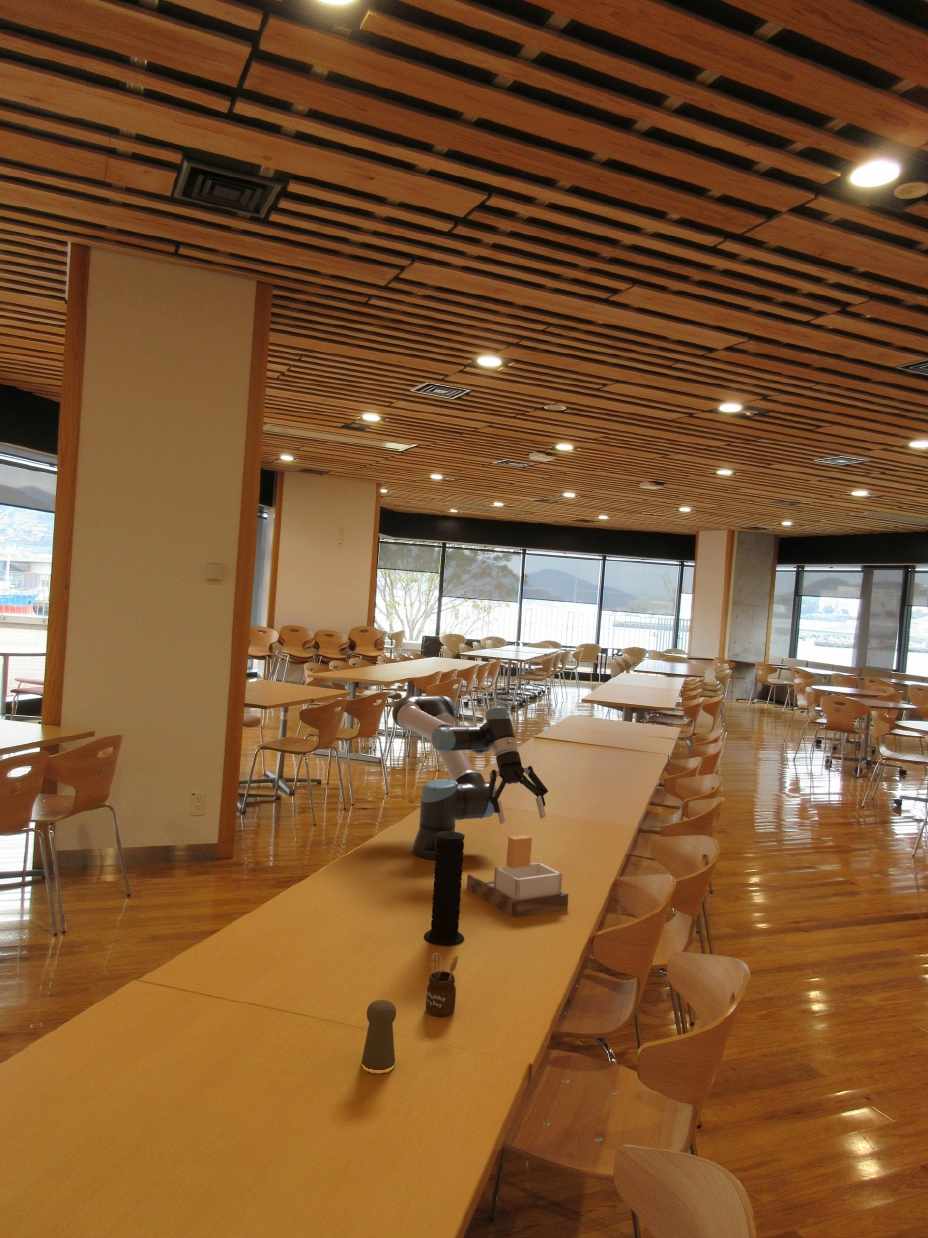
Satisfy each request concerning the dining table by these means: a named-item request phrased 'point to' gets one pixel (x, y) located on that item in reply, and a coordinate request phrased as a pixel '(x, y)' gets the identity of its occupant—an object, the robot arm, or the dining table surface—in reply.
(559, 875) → the box
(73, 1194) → the dining table surface
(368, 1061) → the grey pepper shaker
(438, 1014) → the utensil holder
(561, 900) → the bay
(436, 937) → the handle grip
